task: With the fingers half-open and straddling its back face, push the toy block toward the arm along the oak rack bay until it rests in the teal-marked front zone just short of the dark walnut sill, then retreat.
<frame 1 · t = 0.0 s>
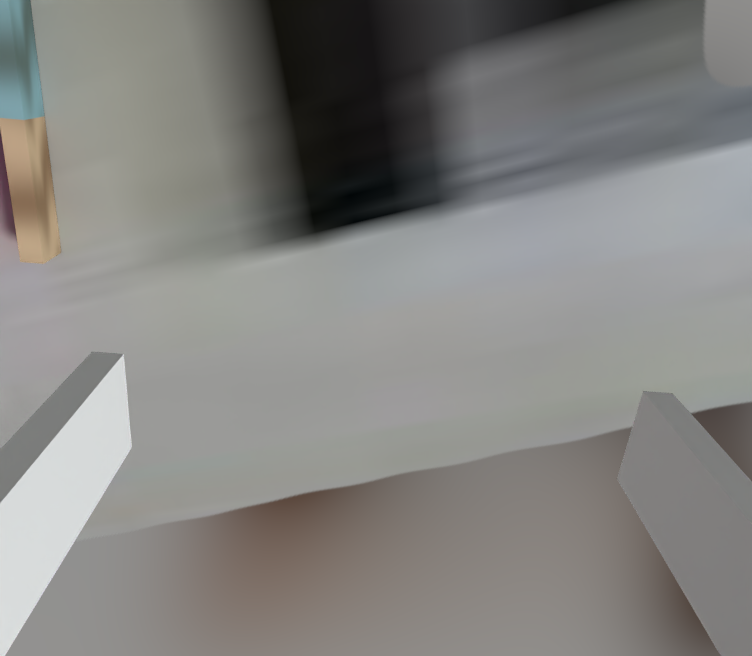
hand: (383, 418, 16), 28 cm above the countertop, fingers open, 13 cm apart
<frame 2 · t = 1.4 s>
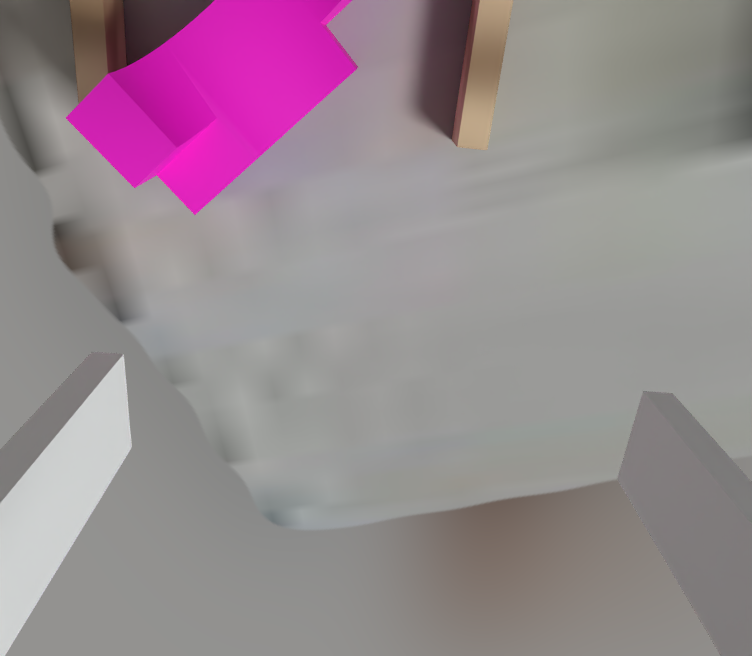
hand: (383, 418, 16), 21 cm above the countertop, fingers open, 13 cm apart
toy block: (276, 54, 32), on the countertop
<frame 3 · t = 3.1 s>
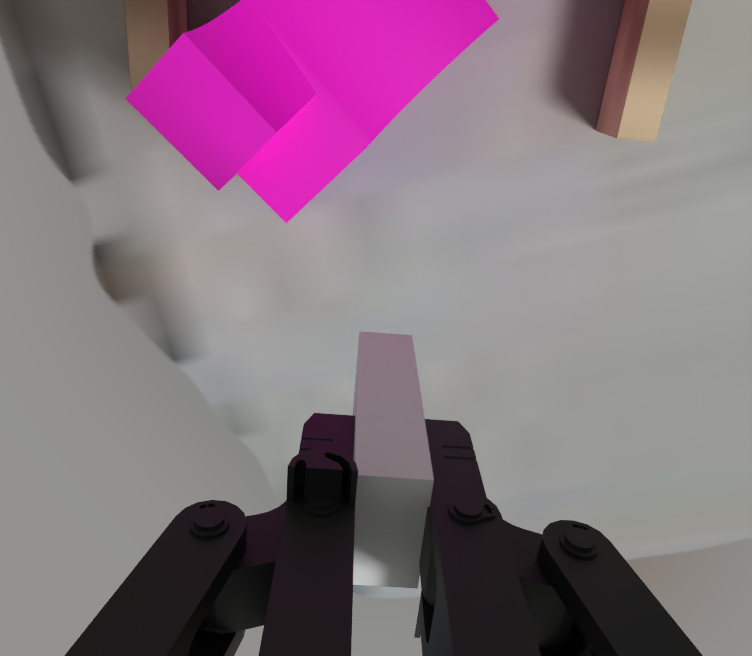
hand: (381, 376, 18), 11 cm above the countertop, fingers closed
toy block: (377, 11, 25), on the countertop
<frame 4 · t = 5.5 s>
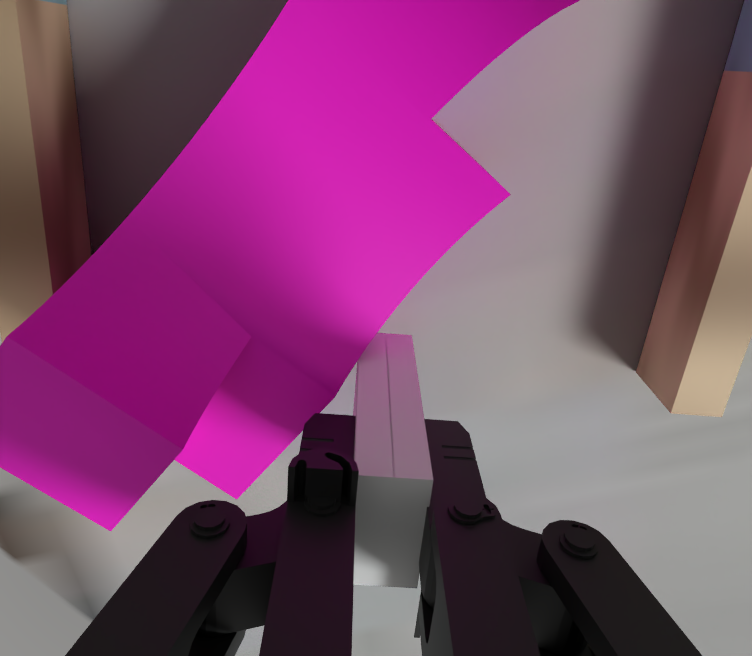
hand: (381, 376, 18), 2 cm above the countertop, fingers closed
rack bay: (401, 59, 16), on the countertop
toy block: (334, 171, 18), on the countertop, touching gripper, rack bay
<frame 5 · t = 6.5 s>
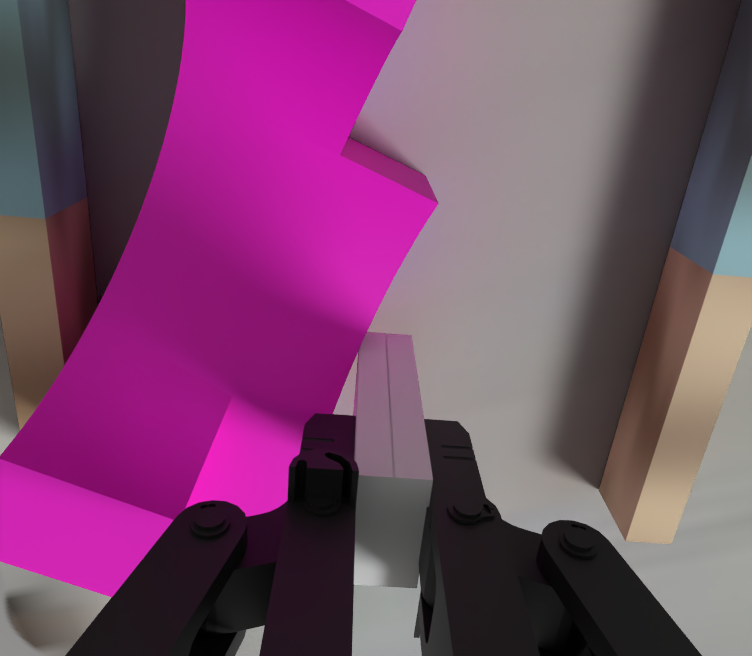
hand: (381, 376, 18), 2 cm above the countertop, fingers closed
rack bay: (383, 239, 18), on the countertop
toy block: (285, 215, 18), on the countertop, touching gripper, rack bay
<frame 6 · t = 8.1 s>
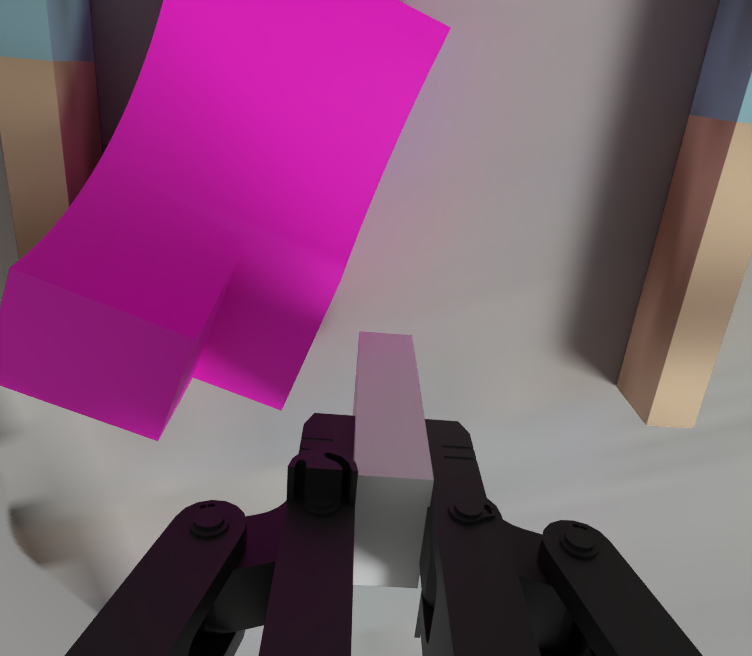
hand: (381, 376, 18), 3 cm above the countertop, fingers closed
rack bay: (397, 107, 18), on the countertop
toy block: (293, 83, 18), on the countertop
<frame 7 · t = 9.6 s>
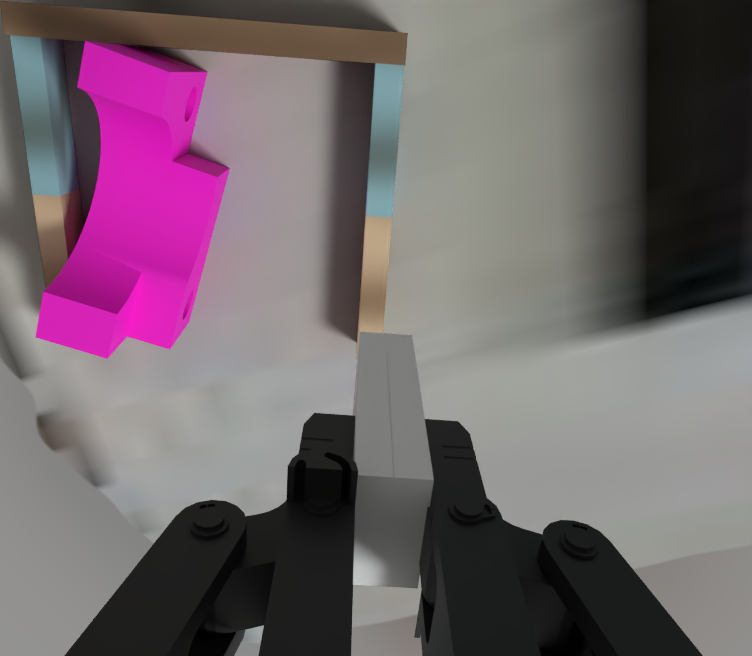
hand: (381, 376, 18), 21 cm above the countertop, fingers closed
rack bay: (224, 206, 37), on the countertop
toy block: (168, 194, 37), on the countertop
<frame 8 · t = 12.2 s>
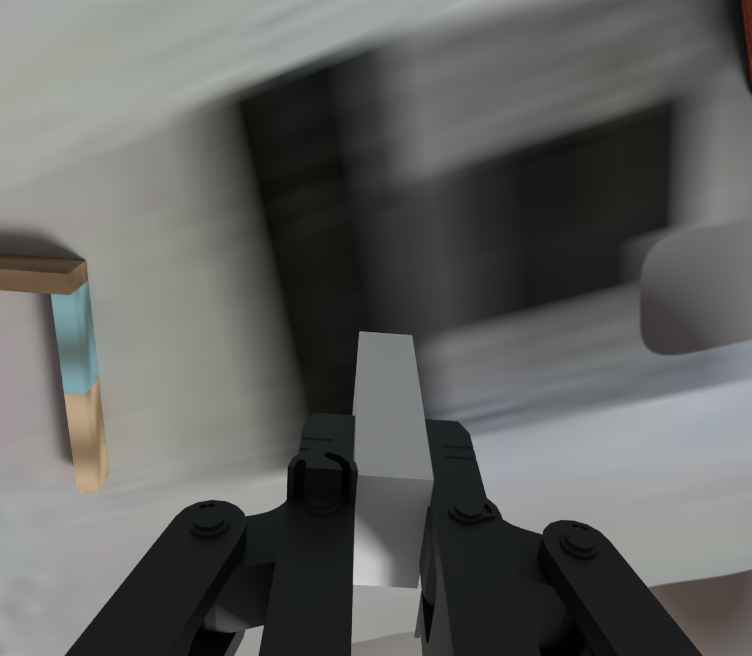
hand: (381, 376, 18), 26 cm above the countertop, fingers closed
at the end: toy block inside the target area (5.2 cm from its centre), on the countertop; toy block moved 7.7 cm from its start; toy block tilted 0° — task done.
